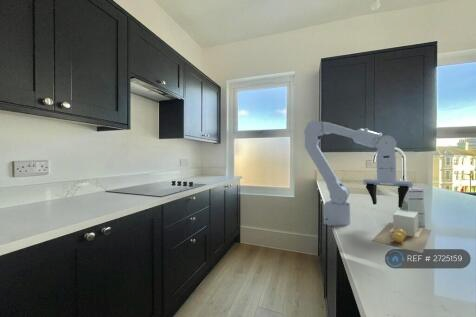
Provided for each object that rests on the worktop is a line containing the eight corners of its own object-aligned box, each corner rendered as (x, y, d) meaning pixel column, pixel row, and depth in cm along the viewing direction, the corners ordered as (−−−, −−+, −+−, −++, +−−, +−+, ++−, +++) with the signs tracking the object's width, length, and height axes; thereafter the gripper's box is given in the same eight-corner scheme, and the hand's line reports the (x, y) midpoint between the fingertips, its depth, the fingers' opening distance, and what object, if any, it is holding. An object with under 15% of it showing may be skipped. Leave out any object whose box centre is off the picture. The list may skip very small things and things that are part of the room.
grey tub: (393, 231, 71) (393, 214, 71) (398, 225, 77) (398, 209, 77) (414, 235, 67) (414, 217, 67) (418, 228, 73) (418, 212, 73)
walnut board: (371, 243, 64) (371, 240, 64) (389, 225, 80) (389, 222, 80) (422, 256, 55) (422, 252, 55) (431, 232, 72) (431, 229, 72)
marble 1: (393, 238, 65) (393, 229, 65) (395, 236, 67) (395, 227, 67) (405, 241, 63) (405, 231, 63) (407, 238, 65) (407, 229, 65)
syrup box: (425, 227, 77) (425, 189, 77) (408, 226, 79) (407, 189, 78) (416, 222, 83) (415, 186, 83) (399, 221, 84) (398, 186, 84)
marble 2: (390, 242, 63) (390, 232, 63) (393, 239, 65) (392, 230, 65) (403, 245, 61) (403, 235, 60) (405, 242, 63) (404, 232, 63)
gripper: (360, 168, 77) (361, 204, 77) (410, 169, 66) (411, 211, 66) (366, 167, 82) (367, 201, 82) (413, 168, 71) (414, 207, 71)
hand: (387, 205), depth 74 cm, fingers open, 7 cm apart
